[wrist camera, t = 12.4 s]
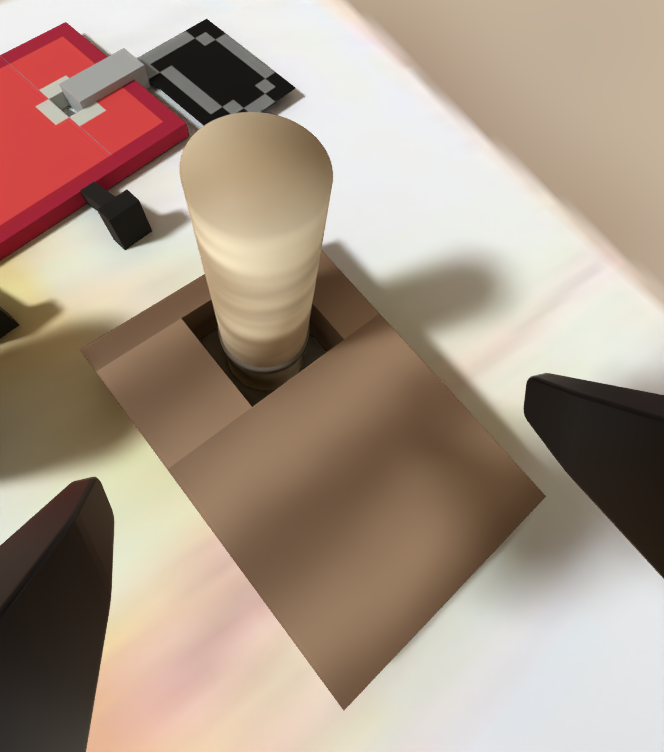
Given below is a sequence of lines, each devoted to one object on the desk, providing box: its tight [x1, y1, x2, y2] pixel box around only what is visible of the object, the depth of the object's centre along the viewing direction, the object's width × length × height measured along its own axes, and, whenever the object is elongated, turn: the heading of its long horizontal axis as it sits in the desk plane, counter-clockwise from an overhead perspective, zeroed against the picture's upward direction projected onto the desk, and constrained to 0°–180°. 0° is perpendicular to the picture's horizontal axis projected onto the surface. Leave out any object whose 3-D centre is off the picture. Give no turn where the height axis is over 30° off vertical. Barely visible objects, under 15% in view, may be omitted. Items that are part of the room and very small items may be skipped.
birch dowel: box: [180, 112, 333, 390], centre depth 18 cm, size 4×4×13 cm
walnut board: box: [80, 250, 546, 710], centre depth 22 cm, size 18×12×3 cm, turn 40°
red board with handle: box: [0, 19, 295, 338], centre depth 26 cm, size 30×3×15 cm
